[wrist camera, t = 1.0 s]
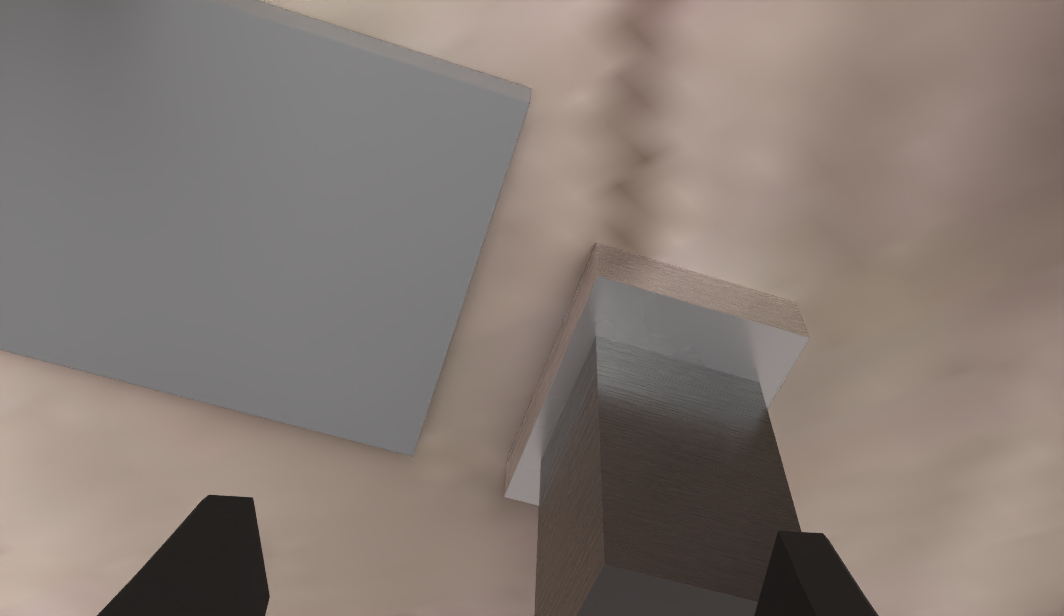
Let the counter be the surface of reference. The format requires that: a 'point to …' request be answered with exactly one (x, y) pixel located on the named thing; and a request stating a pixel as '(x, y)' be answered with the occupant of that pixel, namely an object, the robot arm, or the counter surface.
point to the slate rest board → (243, 206)
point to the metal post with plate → (657, 444)
